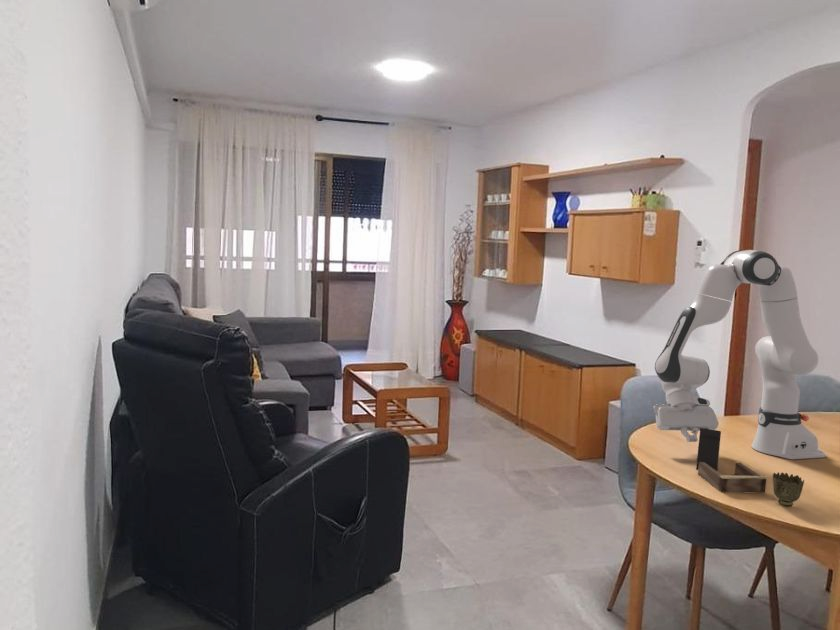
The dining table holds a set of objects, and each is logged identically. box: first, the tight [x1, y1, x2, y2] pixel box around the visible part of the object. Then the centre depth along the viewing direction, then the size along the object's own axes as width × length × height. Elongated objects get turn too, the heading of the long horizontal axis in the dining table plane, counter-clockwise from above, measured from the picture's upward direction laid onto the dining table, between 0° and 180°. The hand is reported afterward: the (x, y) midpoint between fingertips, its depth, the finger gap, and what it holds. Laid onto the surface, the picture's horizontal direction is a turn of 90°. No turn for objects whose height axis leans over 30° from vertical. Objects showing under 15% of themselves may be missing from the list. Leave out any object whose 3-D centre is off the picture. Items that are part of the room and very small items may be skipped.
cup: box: [772, 472, 805, 508], centre depth 178 cm, size 8×7×8 cm
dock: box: [697, 462, 768, 494], centre depth 193 cm, size 13×14×4 cm
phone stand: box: [695, 428, 722, 472], centre depth 206 cm, size 9×6×12 cm, turn 155°
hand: (692, 441), depth 217 cm, fingers closed
